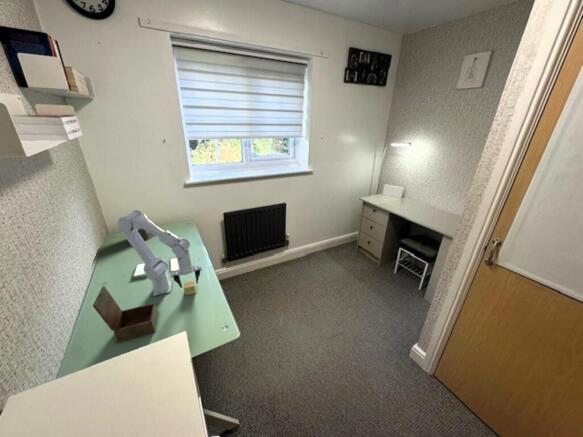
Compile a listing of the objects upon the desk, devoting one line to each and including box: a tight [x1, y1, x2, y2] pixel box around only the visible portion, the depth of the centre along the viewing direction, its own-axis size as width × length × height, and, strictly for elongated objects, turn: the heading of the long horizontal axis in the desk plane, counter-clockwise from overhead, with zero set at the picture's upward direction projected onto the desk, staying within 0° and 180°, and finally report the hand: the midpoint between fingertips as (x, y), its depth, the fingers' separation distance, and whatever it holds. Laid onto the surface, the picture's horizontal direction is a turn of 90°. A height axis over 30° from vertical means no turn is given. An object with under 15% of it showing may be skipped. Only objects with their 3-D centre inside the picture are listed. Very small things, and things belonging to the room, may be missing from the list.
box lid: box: [92, 285, 122, 332], centre depth 95 cm, size 14×11×1 cm
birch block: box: [183, 279, 197, 296], centre depth 123 cm, size 5×5×5 cm
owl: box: [138, 215, 155, 241], centre depth 175 cm, size 13×13×20 cm
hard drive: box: [132, 262, 146, 279], centre depth 139 cm, size 2×8×12 cm
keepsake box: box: [113, 302, 159, 343], centre depth 102 cm, size 13×11×6 cm
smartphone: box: [169, 257, 179, 273], centre depth 146 cm, size 7×1×15 cm
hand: (189, 284), depth 122 cm, fingers open, 7 cm apart
